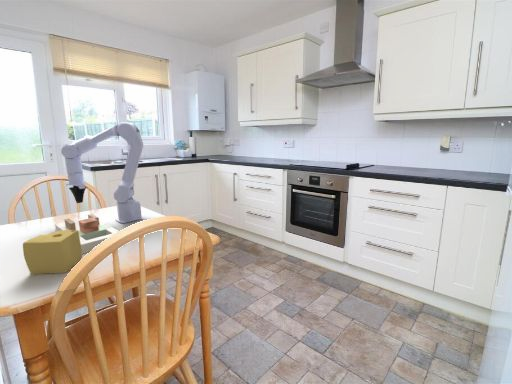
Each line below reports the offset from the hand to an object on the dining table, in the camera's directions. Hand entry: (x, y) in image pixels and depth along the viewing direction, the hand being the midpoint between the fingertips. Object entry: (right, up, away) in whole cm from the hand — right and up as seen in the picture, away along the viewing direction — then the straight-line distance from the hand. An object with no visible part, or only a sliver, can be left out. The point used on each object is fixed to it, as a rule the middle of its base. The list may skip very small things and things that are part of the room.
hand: (79, 202), depth 125 cm
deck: (+12, -13, -14) cm, 22 cm away
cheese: (+18, -18, -39) cm, 47 cm away
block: (+15, -10, -17) cm, 25 cm away
